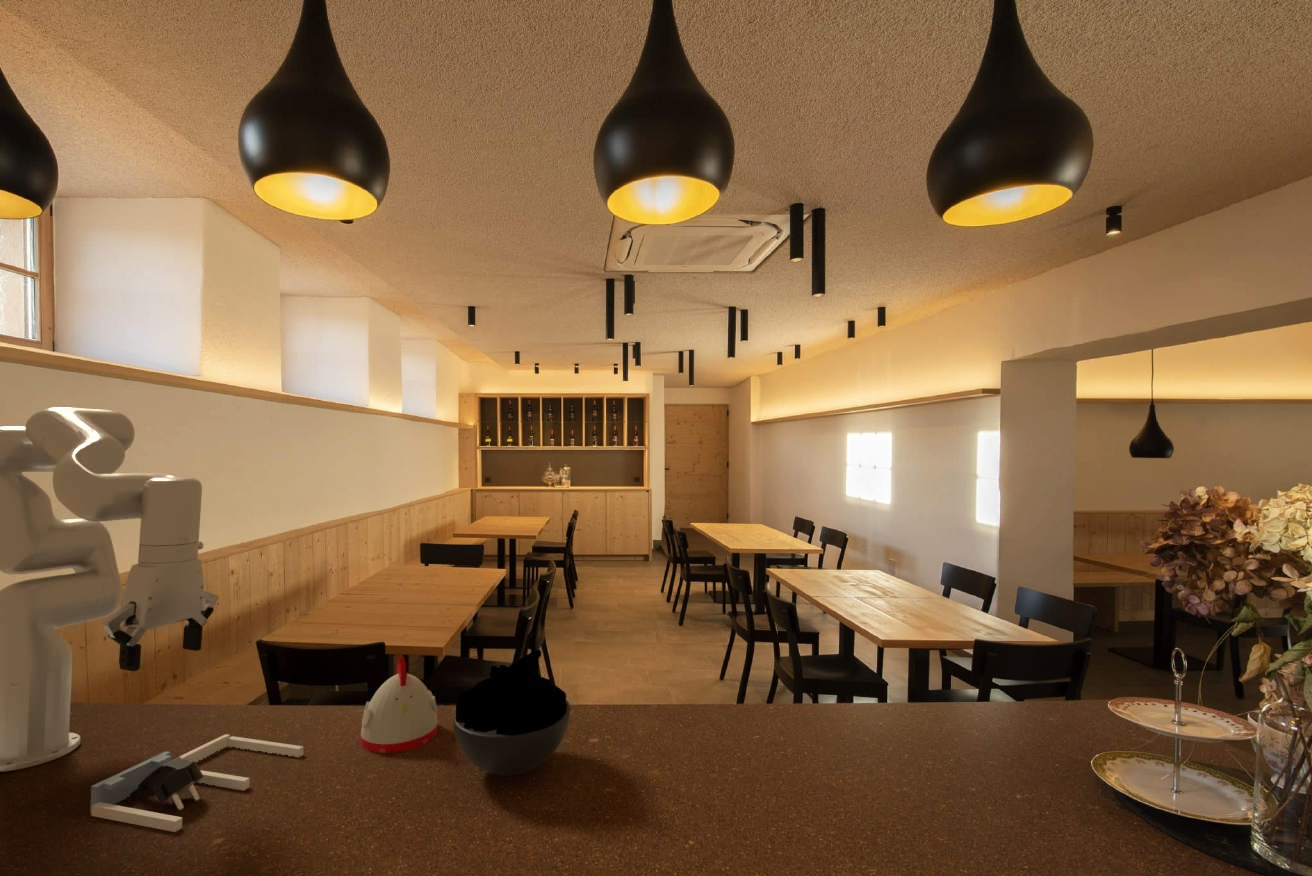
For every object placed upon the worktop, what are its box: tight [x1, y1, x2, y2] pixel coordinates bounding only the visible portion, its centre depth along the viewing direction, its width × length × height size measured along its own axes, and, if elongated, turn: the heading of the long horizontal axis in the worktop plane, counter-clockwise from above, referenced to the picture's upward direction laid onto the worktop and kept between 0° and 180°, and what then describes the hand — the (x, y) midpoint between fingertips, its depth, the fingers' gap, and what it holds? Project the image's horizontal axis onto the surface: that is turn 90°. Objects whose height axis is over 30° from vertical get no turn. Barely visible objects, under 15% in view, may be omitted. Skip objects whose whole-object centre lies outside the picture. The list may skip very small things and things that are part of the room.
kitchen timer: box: [359, 656, 439, 754], centre depth 117 cm, size 14×14×15 cm
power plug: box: [129, 756, 203, 812], centre depth 94 cm, size 6×8×12 cm
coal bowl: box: [453, 649, 572, 777], centre depth 105 cm, size 20×20×19 cm
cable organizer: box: [89, 733, 304, 833], centre depth 99 cm, size 17×23×4 cm
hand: (162, 659), depth 96 cm, fingers open, 9 cm apart
